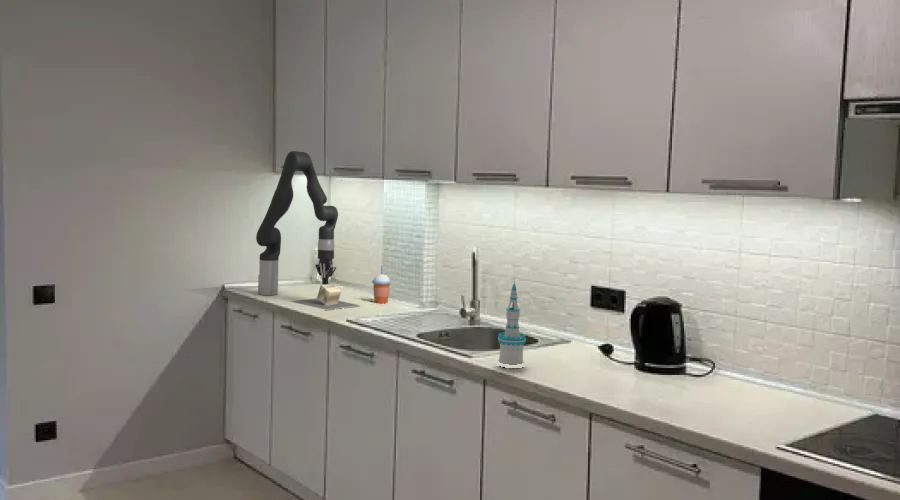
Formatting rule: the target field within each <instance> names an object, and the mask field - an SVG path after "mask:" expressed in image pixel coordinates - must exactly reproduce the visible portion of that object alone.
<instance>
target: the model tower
mask: <svg viewBox="0 0 900 500" xmlns="http://www.w3.org/2000/svg"><path fill="white" fill-rule="evenodd" d="M515 282H516V279H515V278H513V285H512V287H511V293H510V296H509V299H510V300H509V304H508V306H507V308H505V309H506V312H505V313H506V315H505V316H506V320H507V321H506V326H505V330H504V332H503V331H502V332H499V333H498V337H497V340H498V341H497V343H498V344H499V356H498V357H499V358H498V360H497V361H499V362H500V363H503V364H509V365H517V364H522V363H523V362H524V345H525V344H526V341H527V338H526V334H524V333H522V332H521V333H520V326H519V319H520V311H521V308H519V305H518V299H519V296H518V293H517V287H516V283H515ZM511 304H512V305H511Z"/></svg>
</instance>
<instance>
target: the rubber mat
mask: <svg viewBox="0 0 900 500" xmlns="http://www.w3.org/2000/svg"><path fill="white" fill-rule="evenodd" d="M289 302H291V303H295V304H298V305H299V304H300V305H304V306H308V307H313V308H316V309H322V310H324V311H325V312H328V311H335V309H337V310H343V309H342V308H346V309H351V308H353V307H354V308H360V306H361V305H359V304H355V303H351V302H346V301H341V300H338V303H337V304H334V305H324V304H323V303H322V302H321V301H320V300H319V299H318V298H317V297H316V298H309V299H308V298H307V299H299V300H290V301H289Z"/></svg>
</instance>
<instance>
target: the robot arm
mask: <svg viewBox="0 0 900 500" xmlns="http://www.w3.org/2000/svg"><path fill="white" fill-rule="evenodd" d="M295 172H302V173H303V175H304V176H305V178H306V192H307V194H308V197H309V199H310V201H311V202H312V205H313V211H314V215H315V217H316V219H317V220H318V221H320V222H325V224H324V225H322V226H320V227H319V228H318V241H317V259H318V263H316V264H315V268H316V271H317V273H318V275H319V276H320V277H321V279H322V281H321V285H323V284H329V278H332V276H333V275H334V272H335V271H336V270H337V267H336V266H334V265H333V264H334V263H333V260H334V259H335V229H336V225H337V222H338V217H339V212H338V209H337V207H336V206H334V205H325V204H326V203H327V201H328V198H327V195H326V193H325V191H324V190H323V187H322V186H321V183H320V181H319V179H318V176H317V173H316V169H315V167H314V163H313V161H312V158H311V156H310V154H309V153H307V152H306V151H305V152H304V151H299V150H298V151H297V150H296V151H295V150H292V151H290V152H288V153H287V155H286V157H285V159H284V163H283V167H282V170H281V173H280V177H279V180H278V182H277V186H276V187H275V190H274V193H273V196H272V198H271V201H270V204H269V207H268V208H267V211H266V214H265V216H264V218H263V220H262V222H261V224H260V226H259V227H258V229H257V232H256V236H255V237H256V238H255V241H256V243H257V245H258V246H259V247H266V248H265V250H264V251H262V252H261V253H260V254H259V259H258V260H259V269H258V271H259V272H258V276H257V277H258V278H257V284H258V285H257V287H258V288H257V294H259V295H261V296H278V294H279V257H280V255H281V244H282V236H281V235H282V234H281V231H280V229H279V228H277V227H276V225H277V223H278V221H280V219H281V218H282V217H284V216H285V214H286V213H287V212H288V211H289V209H290V207H291V205H292V202H293V199H294V189H293V184H292V183H293V182H292V181H293V178H294V175H295Z"/></svg>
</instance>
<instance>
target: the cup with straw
mask: <svg viewBox="0 0 900 500" xmlns="http://www.w3.org/2000/svg"><path fill="white" fill-rule="evenodd" d="M371 283H372V284H373V288H372V289H373V297H374V303H375V304H381V305H382V304H383V305H384V304H387V303H388V302H389V295H390V289H391V287H390V285H391V284H392V280H390V278H389V276H388V275H386V274H384V265H380V274H377V275H376V276H374V279H373V280H372V281H371Z"/></svg>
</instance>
